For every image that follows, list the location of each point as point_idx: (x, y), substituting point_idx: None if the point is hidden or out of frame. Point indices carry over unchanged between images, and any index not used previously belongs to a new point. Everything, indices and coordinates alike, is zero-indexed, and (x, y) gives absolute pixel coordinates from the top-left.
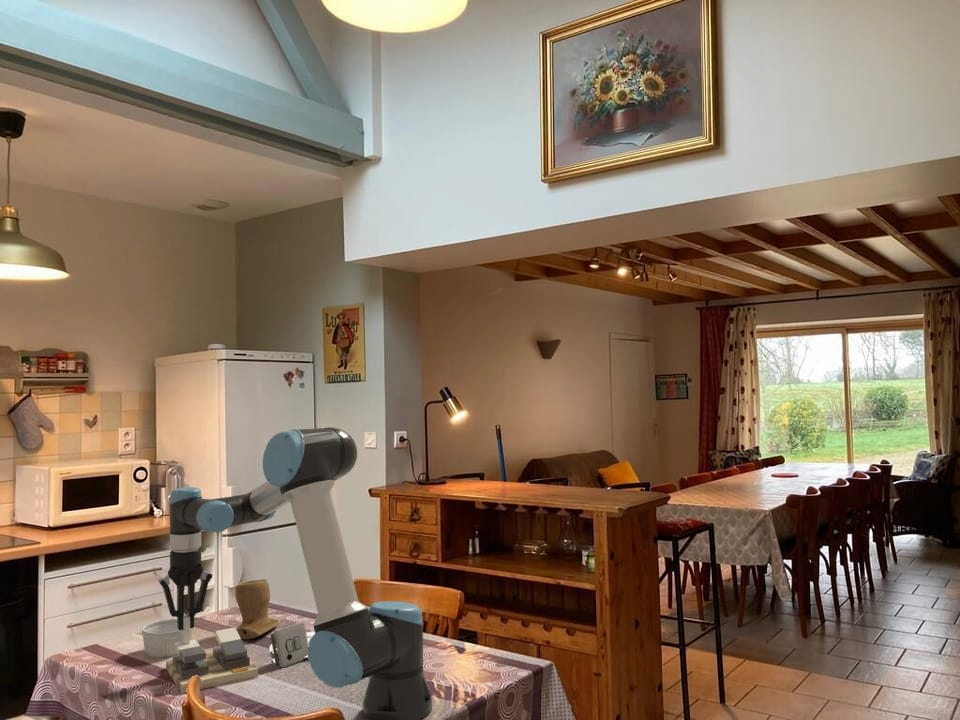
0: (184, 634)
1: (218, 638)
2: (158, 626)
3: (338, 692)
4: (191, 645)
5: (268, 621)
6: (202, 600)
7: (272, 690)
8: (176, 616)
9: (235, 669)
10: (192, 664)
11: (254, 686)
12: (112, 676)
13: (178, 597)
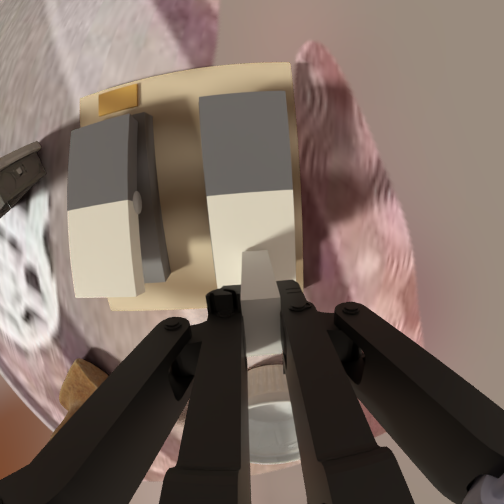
0: (267, 262)
1: (133, 245)
2: (289, 451)
3: (29, 4)
4: (239, 222)
5: (68, 400)
6: (131, 366)
7: (94, 18)
8: (325, 314)
9: (127, 101)
10: None
11: (114, 45)
12: (406, 292)
13: (352, 408)
